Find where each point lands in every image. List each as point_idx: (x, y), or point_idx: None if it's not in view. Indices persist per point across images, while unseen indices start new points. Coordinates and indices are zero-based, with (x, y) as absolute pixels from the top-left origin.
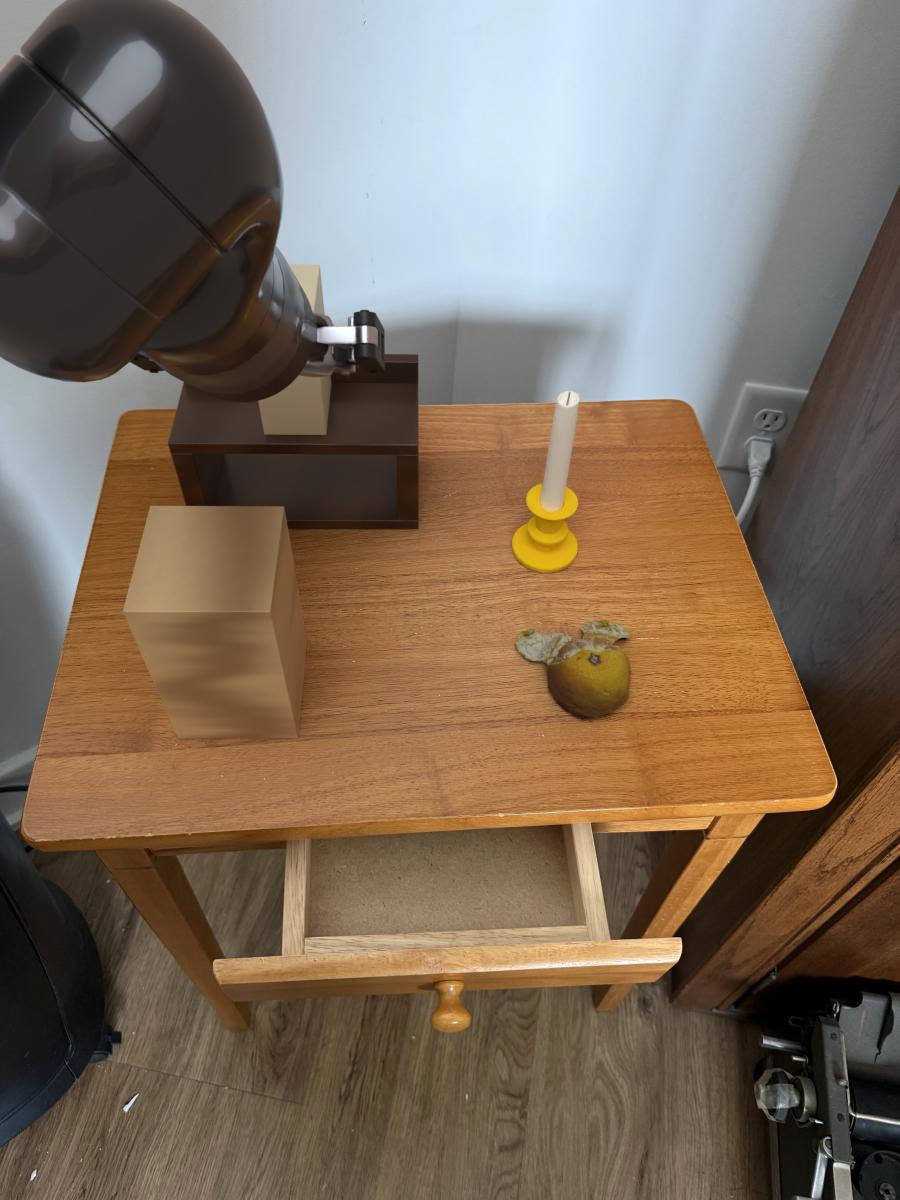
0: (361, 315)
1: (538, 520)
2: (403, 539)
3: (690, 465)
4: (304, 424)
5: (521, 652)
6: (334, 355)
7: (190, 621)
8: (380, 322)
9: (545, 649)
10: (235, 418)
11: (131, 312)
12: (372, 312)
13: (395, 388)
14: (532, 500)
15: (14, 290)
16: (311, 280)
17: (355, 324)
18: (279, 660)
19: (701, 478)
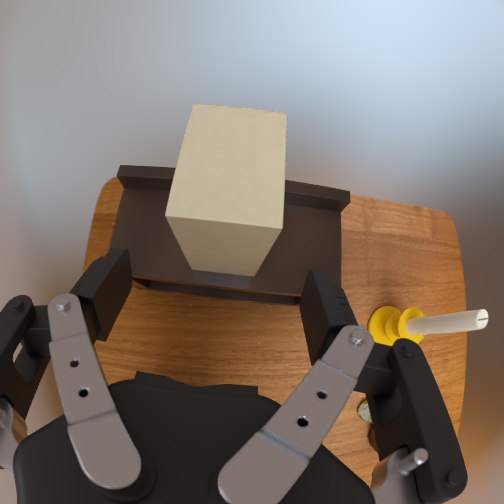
0: (447, 500)
1: (397, 332)
2: (295, 316)
3: (456, 259)
4: (234, 271)
5: (360, 414)
6: (320, 348)
7: None
8: (444, 404)
9: None
10: (164, 242)
11: None
12: (465, 484)
13: (321, 216)
14: (401, 325)
15: None
16: (276, 141)
17: (426, 501)
18: None
19: (460, 270)
